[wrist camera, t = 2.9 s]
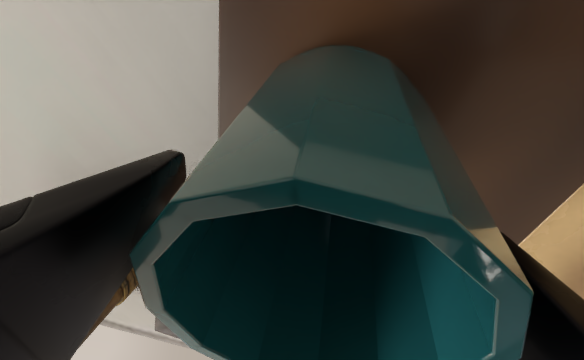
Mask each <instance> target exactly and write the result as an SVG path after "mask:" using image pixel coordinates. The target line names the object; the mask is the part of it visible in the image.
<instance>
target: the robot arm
mask: <svg viewBox="0 0 584 360" xmlns="http://www.w3.org/2000/svg"><path fill="white" fill-rule="evenodd" d="M185 179H186V166H185V157H184V154H183V153H181V152H177V151H173V150H167V151H164V152H161V153H158V154H155V155H152V156H149V157H146V158H144V159H141V160H138V161H135V162H132V163H129V164H126V165H123V166H120V167H117V168H114V169H111V170H108V171H105V172H102V173H99V174H96V175H93V176H90V177H87V178H84V179H81V180H78V181H75V182H72V183H69V184H66V185H63V186H60V187H57V188H54V189H52V190H49V191H46V192H43V193H40V194H37V195H34V197H28V198H25V199H22V200H19V201H16V202H13V203H10V204H7V205H4V206H1V207H0V360H70V359H71V358H72V356H73V355H74V353H75V352H76V350H77V349H78V347H79V346H80V344H81V343H82V342H83V340H84V339H85V337H86V336H87V334H88V333H89V331H90V330H91V328H92V327H93V325H94V324H95V322H96V321H97V320H98V318H99V317H100V315H101V314H102V312H103V311H104V309H105V308H106V306H107V305H108V303H109V302H110V300H111V299H112V297H113V296H114V295H115V293H116V292H117V290H118V289H119V287H120V286H121V284H122V283H123V281H124V280H125V278H126V277H127V275H128V274H129V273H130V271H131V270H132V268H133V266H132V263H131V260H130V257H129V254H130V251H131V250H132V249H133V247H134V246H135V245H136V244H137V242H138V241H139V240H140V238H141V237H142V236H143V234H144V233H145V232H146V231H147V229H148V228H149V227H150V225H151V224H152V223H153V222H154V220H155V219H156V218H157V216H158V215H159V214H160V212H161V211H162V210H163V209H164V207H165V206H166V205H167V203H168V202H169V201H170V199H171V198H172V197H173V196H174V195H175V193H176V192H177V191H178V190H179V188H180V187H181V186H182V185H183V183H184V182H185ZM500 233H501V235H502V236H503V238H504V240H505V242H506V243H507V245H508V247H509V249H510V251H511V252H512V254H513V256H514V258H515V259H516V261H517V263H518V265H519V266H520V268H521V270H522V272H523V274H524V275H525V277H526V279H527V281H528V282H529V284H530V286H531V288H532V289H533V292H534V297H533V302H532V307H531V313H530V318H529V323H528V329H527V334H526V339H525V344H524V350H523V355H522V358H521V359H519V360H584V299H583V298H581V297H580V296H579V295H578V294H577V293H575V292H574V291H573V290H572V289H571V288H569V287H568V286H567V285H566V284H564V283H563V282H562V281H561V280H560V279H558V278H557V277H556V276H555V275H554V274H552V273H551V272H550V271H549V270H548V269H546V268H545V267H544V266H543V265H541V264H540V263H539V262H538V261H537V260H535V259H534V258H533V257H532V256H531V255H529V254H528V253H527V252H526V251H525V250H523V249H522V248H521V247H520V246H518V245H517V244H516V243H515V242H514V241H512V240H511V239H510V238H509V237H508V236H506V235H505V234H504V233H502V232H500Z"/></svg>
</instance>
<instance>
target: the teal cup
mask: <svg viewBox="0 0 584 360" xmlns="http://www.w3.org/2000/svg"><path fill="white" fill-rule="evenodd" d="M129 257H130V260H131V263H132V266H133V269H134V273H135V276H136V279H137V282H138V285H139V288H140V292H141V295H142V298H143V301H144V304H145V307H146V308H147V309H148V310H149V311H150V312H151V313H152V314H154V315H155V316H156V317H157V318H158V319H159V320H160V321H161V322H162V323H163V324H165V325H166V326H167V327H168V328H169V329H170V330H171V331H172V332H173V333H175V334H176V335H177V336H178V337H179V338H180V339H181V340H182V341H183V342H184V343H186V344H187V345H188V346H189V347H190V348H192V349H194V350H196V351H198V352H200V353H202V354H204V355H206V356H208V357H210V358H212V359H214V360H519V359H521V358H522V355H523V350H524V344H525V339H526V334H527V329H528V323H529V318H530V313H531V307H532V302H533V297H534V292H533V289H532V288H531V286H530V284H529V282H528V281H527V279H526V277H525V275H524V274H523V272H522V270H521V268H520V266H519V265H518V263H517V261H516V259H515V258H514V256H513V254H512V252H511V251H510V249H509V247H508V245H507V243H506V242H505V240H504V238H503V236H502V235H501V233H500V231H499V229H498V227H497V226H496V224H495V222H494V220H493V219H492V217H491V215H490V213H489V212H488V210H487V208H486V206H485V204H484V203H483V201H482V199H481V197H480V196H479V194H478V192H477V190H476V189H475V187H474V185H473V183H472V181H471V180H470V178H469V176H468V174H467V173H466V171H465V169H464V167H463V165H462V164H461V162H460V160H459V158H458V157H457V155H456V153H455V151H454V150H453V148H452V146H451V144H450V142H449V141H448V139H447V137H446V135H445V134H444V132H443V130H442V128H441V127H440V125H439V123H438V121H437V119H436V118H435V116H434V114H433V112H432V111H431V109H430V107H429V105H428V103H427V102H426V100H425V98H424V96H423V95H422V94H421V93H420V92H419V91H418V90H417V89H416V88H415V87H414V86H413V84H412V82H411V81H410V80H409V79H408V77H407V76H406V75H405V74H404V72H403V71H401V70H400V69H399V68H398V67H397V66H396V65H395V64H394V63H392V62H391V61H390V60H389V59H388V58H386V57H383V56H381V55H379V54H377V53H375V52H372V51H369V50H366V49H363V48H359V47H353V46H346V45H331V46H324V47H318V48H315V49H311V50H307V51H305V52H303V53H301V54H298V55H296V56H294V57H293V58H291V59H289V60H288V61H285V62H282V63H280V64H279V65H278V66H277V68H276V69H275V70H274V71H273V73H272V74H271V75H270V76H269V78H268V79H267V80H266V81H265V83H264V84H263V85H262V86H261V87H260V89H259V90H258V91H257V92H256V94H255V95H254V96H253V97H252V99H251V100H250V101H249V102H248V104H247V105H246V106H245V107H244V109H243V110H242V111H241V112H240V114H239V115H238V116H237V117H236V119H235V120H234V121H233V122H232V124H231V125H230V126H229V127H228V129H227V130H226V131H225V132H224V134H223V135H222V136H221V137H220V139H219V140H218V141H217V142H216V143H215V145H214V146H213V147H212V148H211V150H210V151H209V152H208V153H207V155H206V156H205V157H204V158H203V160H202V161H201V162H200V163H199V165H198V166H197V167H196V168H195V170H194V171H193V172H192V173H191V175H190V176H189V177H188V178H187V180H186V181H185V182H184V183H183V185H182V186H181V187H180V188H179V190H178V191H177V192H176V193H175V195H174V196H173V197H172V198H171V199H170V201H169V202H168V203H167V205H166V206H165V207H164V209H163V210H162V211H161V212H160V214H159V215H158V216H157V218H156V219H155V220H154V222H153V223H152V224H151V225H150V227H149V228H148V229H147V231H146V232H145V233H144V234H143V236H142V237H141V238H140V240H139V241H138V242H137V244H136V245H135V246H134V247H133V249H132V250H131V251H130V254H129Z"/></svg>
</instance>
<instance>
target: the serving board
mask: <svg viewBox="0 0 584 360" xmlns="http://www.w3.org/2000/svg"><path fill="white" fill-rule="evenodd" d="M331 45H346V46H353V47H359V48H363V49H366V50H369V51H372V52H375V53H377V54H379V55H381V56H383V57H386V58H388V59H389V60H390V61H391V62H392V63H394V64H395V65H396V66H397V67H398V68H399V69H400V70H401V71H403V72H404V74H405V75H406V76H407V77H408V79H409V80H410V81H411V82H412V84H413V86H414V87H415V88H416V89H417V90H418V91H419V92H420V93H421V94H422V95H423V96H424V98H425V100H426V102H427V103H428V105H429V107H430V109H431V111H432V112H433V114H434V116H435V118H436V119H437V121H438V123H439V125H440V127H441V128H442V130H443V132H444V134H445V135H446V137H447V139H448V141H449V142H450V144H451V146H452V148H453V150H454V151H455V153H456V155H457V157H458V158H459V160H460V162H461V164H462V165H463V167H464V169H465V171H466V173H467V174H468V176H469V178H470V180H471V181H472V183H473V185H474V187H475V189H476V190H477V192H478V194H479V196H480V197H481V199H482V201H483V203H484V204H485V206H486V208H487V210H488V212H489V213H490V215H491V217H492V219H493V220H494V222H495V224H496V226H497V227H498V229H499V231H500V232H502V233H504V234H505V235H506V236H508V237H509V238H510V239H511V240H512V241H514V242H515V243H516V244H517V245H518V246H520V247H521V248H522V249H523V250H525V251H526V252H527V253H528V254H529V255H531V256H532V257H533V258H534V259H535V260H537V261H538V262H539V263H540V264H541V265H543V266H544V267H545V268H546V269H548V270H549V271H550V272H551V273H552V274H554V275H555V276H556V277H557V278H558V279H560V280H561V281H562V282H563V283H564V284H566V285H567V286H568V287H569V288H571V289H572V290H573V291H574V292H575V293H577V294H578V295H579V296H580V297H581V298H583V299H584V0H219V95H218V140H219V139H220V137H221V136H222V135H223V134H224V132H225V131H226V130H227V129H228V127H229V126H230V125H231V124H232V122H233V121H234V120H235V119H236V117H237V116H238V115H239V114H240V112H241V111H242V110H243V109H244V107H245V106H246V105H247V104H248V102H249V101H250V100H251V99H252V97H253V96H254V95H255V94H256V92H257V91H258V90H259V89H260V87H261V86H262V85H263V84H264V83H265V81H266V80H267V79H268V78H269V76H270V75H271V74H272V73H273V71H274V70H275V69H276V68H277V66H278V65H279V64H280V63H282V62H285V61H288V60H289V59H291V58H293V57H294V56H296V55H298V54H301V53H303V52H305V51H307V50H311V49H315V48H318V47H324V46H331Z"/></svg>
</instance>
